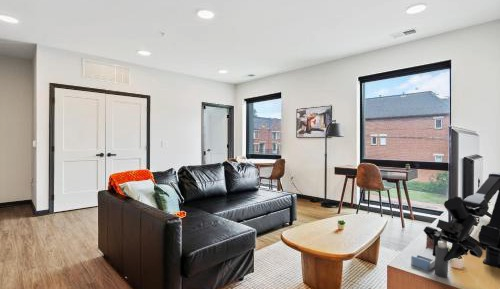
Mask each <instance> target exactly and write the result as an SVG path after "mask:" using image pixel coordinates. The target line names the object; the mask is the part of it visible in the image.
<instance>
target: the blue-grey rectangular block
mask: <svg viewBox="0 0 500 289" xmlns="http://www.w3.org/2000/svg"><path fill="white" fill-rule="evenodd" d="M432 254H433V249H431V248H427V249H426V248H425V249H424V250H423V251H421V252H420V253H417V254H415V255H411V260H410V261H411V262H410V265H411V266H414V267H418V268H420V269H423V270H424V271H428V272H429V271H432V269H434V268H435V256H433V255H432Z"/></svg>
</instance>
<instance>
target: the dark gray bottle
mask: <svg viewBox="0 0 500 289" xmlns="http://www.w3.org/2000/svg"><path fill="white" fill-rule="evenodd" d="M447 244H448V242H447V243H446V242H444V241H438V245H436V249H435V267H434V275H435V276H437V277H440V278H444V279H445V278H446V279H447V278H448V275H449V273H448V272H449V261H444V258H445V256H446V255H447V253H448V252H449V250H450V249H449V247H446V246H447Z"/></svg>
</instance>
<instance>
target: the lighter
mask: <svg viewBox="0 0 500 289" xmlns="http://www.w3.org/2000/svg"><path fill="white" fill-rule="evenodd" d="M438 232H439V233H440V234H442V235H444V233H442V232H441V230H438ZM425 242H426V243H425V244H426V245H425V250H426V249H427V248H431V249H433V247H434V240H431V239H430V238H429V237H428V236H427V235H426V241H425ZM444 242H446V243H447V244H448V242H447V241H444ZM446 247H447V246H446ZM447 248H448V247H447Z"/></svg>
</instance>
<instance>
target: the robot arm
mask: <svg viewBox="0 0 500 289" xmlns="http://www.w3.org/2000/svg"><path fill="white" fill-rule="evenodd" d="M496 194H497V196H496V199H495V202H494V205H493V209H492V212H491V216H490V219H489V222H488V223H487V224H482V225H481V226H480V230H479V232H478V237H477V238H478V241H479V244H478V243H477V242H475V241H473V240H469V239H466V238H469V237H470V234H469V232H470V231H471V229H472V228H473V227H474V226H475V227H478V221H477V218H475V217H479V218H480V217H481V218H482V217H485V215H486V214H487V213H488V210H490V207H489V202H490V201H491V200H492V199H493V197H494V196H495V195H496ZM443 206H444V208H445V209H446V211H447V212H448V213H449V215H450V216H451V217H452V218H453V221H452V222H451V221H446V220H443V219H438V221H437V223H436V228H435V227H432V226H429V225H428V226H425V227H424V229H423V230H422V231H423V232H424V234H425V235H426V237H427V236H428V237H429V238H430V239H431V240H434V247H433V254H432V255H433V256H435V249H436V245H438V241H447V243H449V244H450V243H451V247H450V249H449V252H448V253H447V255H446V256H445V258H444V261H448V262H449V261H451V260H453V259H455V258H458V257H462V256H464V255H465V256H468V252H469V254H470V255H471V256H473V257H476V258H479V259H481V258H482V256H483V254H484V253H483V252H484V251H483V249H482V248H481V247H483V248H485V258H484V260H482V263H483V264H486V265H489V266H492V267H496V268H500V172H490V173H489V174H488V177H487V178H486V180H485V181H484V183H482V185H480V187H479V188H478V189H477V190H476V192H475V193H474V194H471V195H468V196H466V198H464V199H462V197H461V196H454V197H453V198H452V197H451V198H448V199H447V200H445V201H444V203H443ZM474 216H475V217H474ZM437 228H438V229H439V230H440V231H441V232H442V233H444V235H442V234H440V233H439V232H438V231H439V230H438V229H437Z"/></svg>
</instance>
